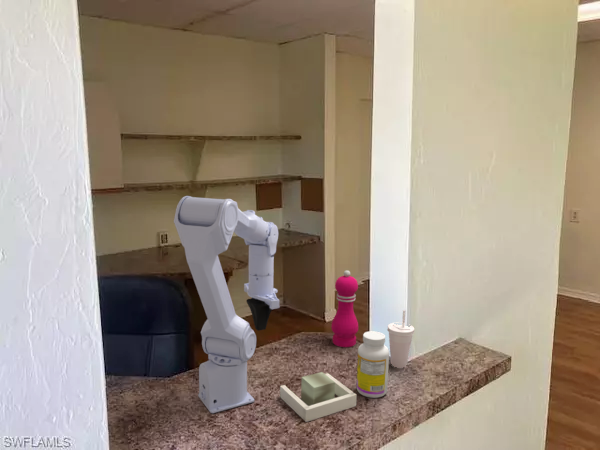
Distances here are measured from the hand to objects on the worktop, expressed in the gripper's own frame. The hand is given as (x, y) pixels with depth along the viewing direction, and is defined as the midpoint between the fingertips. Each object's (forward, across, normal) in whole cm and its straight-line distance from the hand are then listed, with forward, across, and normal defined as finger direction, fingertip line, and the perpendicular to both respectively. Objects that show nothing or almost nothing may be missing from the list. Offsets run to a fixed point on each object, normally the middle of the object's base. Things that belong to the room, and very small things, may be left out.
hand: (260, 329), depth 115 cm
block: (+10, -20, -4) cm, 22 cm away
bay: (+9, -20, -4) cm, 22 cm away
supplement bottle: (+10, -22, -16) cm, 29 cm away
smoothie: (+10, -15, -30) cm, 35 cm away
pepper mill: (+10, +2, -26) cm, 28 cm away
